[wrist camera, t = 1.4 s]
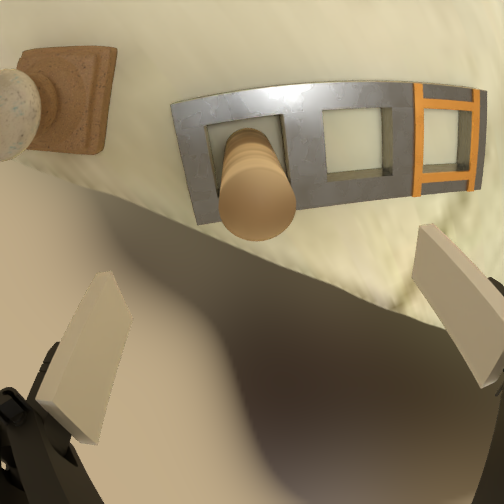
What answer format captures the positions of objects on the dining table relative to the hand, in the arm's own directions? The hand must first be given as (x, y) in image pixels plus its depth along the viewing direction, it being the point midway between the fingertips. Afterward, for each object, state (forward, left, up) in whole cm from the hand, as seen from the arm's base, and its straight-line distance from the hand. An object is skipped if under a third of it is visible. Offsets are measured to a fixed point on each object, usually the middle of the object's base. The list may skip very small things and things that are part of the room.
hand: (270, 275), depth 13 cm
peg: (0, 0, -20) cm, 20 cm away
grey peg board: (0, +10, -20) cm, 23 cm away
